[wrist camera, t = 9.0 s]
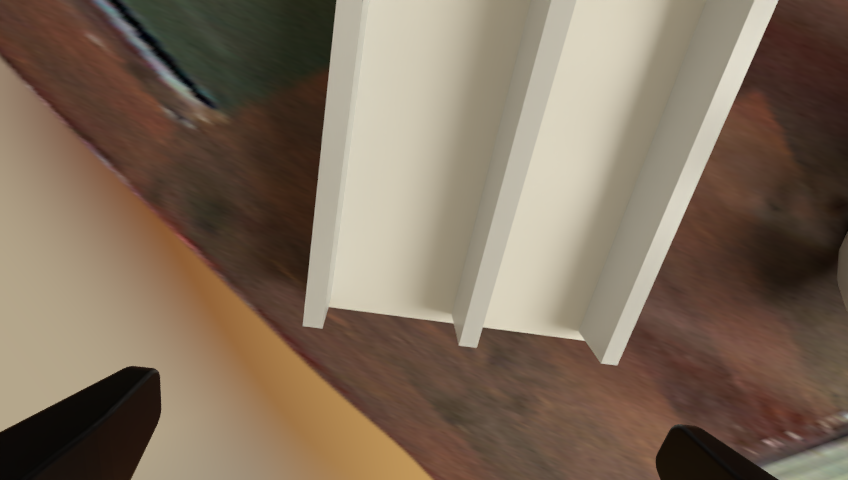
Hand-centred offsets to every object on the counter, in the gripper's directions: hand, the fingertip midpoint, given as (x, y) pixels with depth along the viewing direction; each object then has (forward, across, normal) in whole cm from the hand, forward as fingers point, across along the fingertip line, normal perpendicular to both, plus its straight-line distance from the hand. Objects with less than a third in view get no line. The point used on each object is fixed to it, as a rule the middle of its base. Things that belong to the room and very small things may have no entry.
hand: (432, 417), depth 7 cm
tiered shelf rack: (+13, -3, -3) cm, 14 cm away
